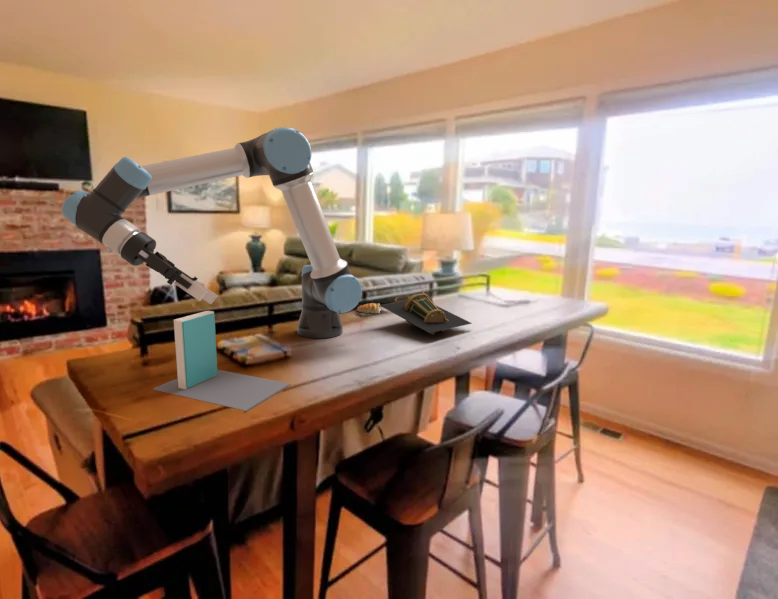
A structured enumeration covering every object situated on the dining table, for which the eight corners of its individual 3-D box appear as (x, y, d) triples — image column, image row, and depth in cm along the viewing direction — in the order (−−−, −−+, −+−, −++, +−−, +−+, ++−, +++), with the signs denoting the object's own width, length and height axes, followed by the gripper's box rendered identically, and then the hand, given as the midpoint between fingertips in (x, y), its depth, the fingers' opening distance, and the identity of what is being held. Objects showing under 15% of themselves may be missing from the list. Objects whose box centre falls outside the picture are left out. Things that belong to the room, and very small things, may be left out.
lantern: (422, 353, 146) (364, 312, 165) (464, 346, 163) (407, 309, 182) (435, 315, 142) (374, 277, 161) (477, 312, 159) (417, 278, 178)
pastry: (356, 313, 182) (356, 304, 181) (358, 309, 189) (358, 300, 188) (379, 314, 182) (380, 305, 181) (380, 310, 188) (381, 301, 188)
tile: (178, 387, 104) (173, 319, 101) (210, 373, 113) (206, 310, 110) (186, 389, 103) (182, 321, 100) (218, 375, 112) (215, 311, 109)
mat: (152, 390, 103) (151, 389, 103) (204, 368, 117) (204, 366, 117) (245, 412, 94) (245, 410, 93) (290, 385, 108) (290, 383, 108)
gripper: (138, 264, 117) (208, 312, 119) (96, 246, 92) (186, 308, 95) (157, 241, 118) (227, 289, 120) (121, 218, 93) (209, 279, 96)
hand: (209, 298), depth 108 cm, fingers open, 13 cm apart
